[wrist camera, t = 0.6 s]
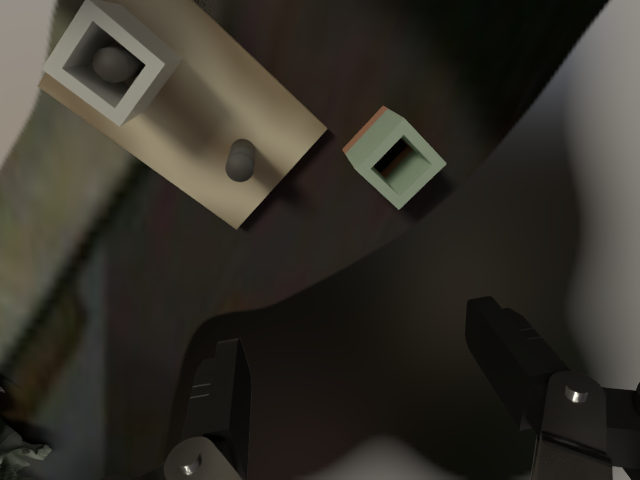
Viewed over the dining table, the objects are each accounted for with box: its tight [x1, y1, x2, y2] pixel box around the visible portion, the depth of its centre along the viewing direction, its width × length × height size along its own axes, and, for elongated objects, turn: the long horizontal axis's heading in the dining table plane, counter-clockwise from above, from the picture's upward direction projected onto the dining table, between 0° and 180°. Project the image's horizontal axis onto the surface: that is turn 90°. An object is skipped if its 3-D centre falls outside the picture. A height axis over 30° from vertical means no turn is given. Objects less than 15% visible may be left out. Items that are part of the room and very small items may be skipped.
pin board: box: [38, 0, 327, 229], centre depth 30 cm, size 12×18×6 cm, turn 47°
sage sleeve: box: [342, 106, 447, 210], centre depth 33 cm, size 5×5×6 cm
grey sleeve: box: [42, 0, 183, 127], centre depth 27 cm, size 5×5×6 cm
